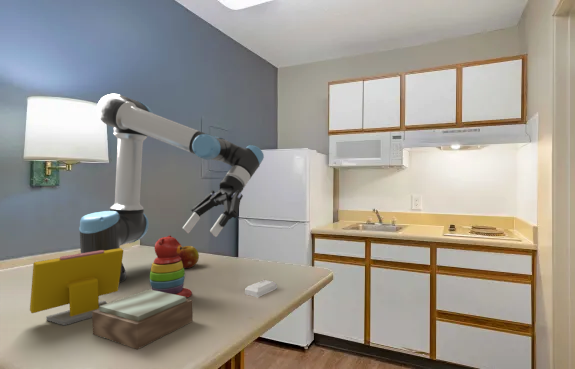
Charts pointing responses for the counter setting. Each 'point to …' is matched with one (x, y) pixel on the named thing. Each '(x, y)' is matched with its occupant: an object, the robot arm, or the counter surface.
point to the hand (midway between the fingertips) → (198, 232)
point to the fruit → (188, 256)
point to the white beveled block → (260, 288)
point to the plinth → (142, 317)
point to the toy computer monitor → (75, 283)
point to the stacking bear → (168, 268)
